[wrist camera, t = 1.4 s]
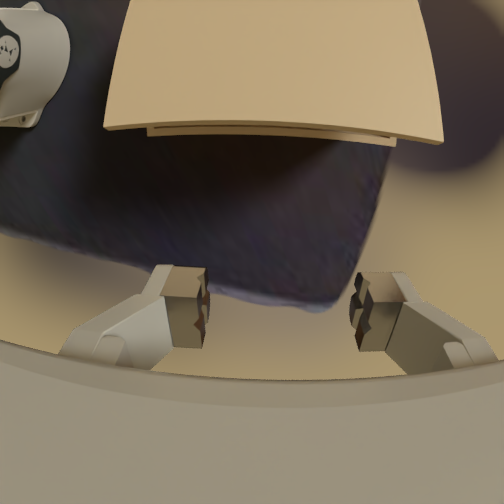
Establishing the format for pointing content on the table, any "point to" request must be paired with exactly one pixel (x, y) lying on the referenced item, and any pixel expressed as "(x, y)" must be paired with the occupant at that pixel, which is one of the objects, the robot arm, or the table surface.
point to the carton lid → (276, 66)
